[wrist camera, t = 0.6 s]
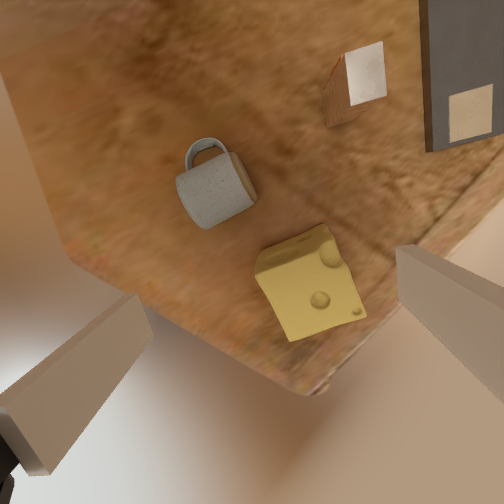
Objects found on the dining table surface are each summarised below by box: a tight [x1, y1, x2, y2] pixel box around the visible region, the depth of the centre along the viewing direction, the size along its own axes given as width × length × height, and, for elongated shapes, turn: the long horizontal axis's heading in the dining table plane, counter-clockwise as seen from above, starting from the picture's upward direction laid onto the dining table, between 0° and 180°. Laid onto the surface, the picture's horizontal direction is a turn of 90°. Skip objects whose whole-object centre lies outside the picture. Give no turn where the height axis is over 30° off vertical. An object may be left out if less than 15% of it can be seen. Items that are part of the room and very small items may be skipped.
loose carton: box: [321, 41, 387, 128], centre depth 25 cm, size 5×3×10 cm, turn 14°
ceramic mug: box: [176, 137, 257, 230], centre depth 30 cm, size 11×8×8 cm
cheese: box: [254, 224, 367, 342], centre depth 32 cm, size 10×11×10 cm
